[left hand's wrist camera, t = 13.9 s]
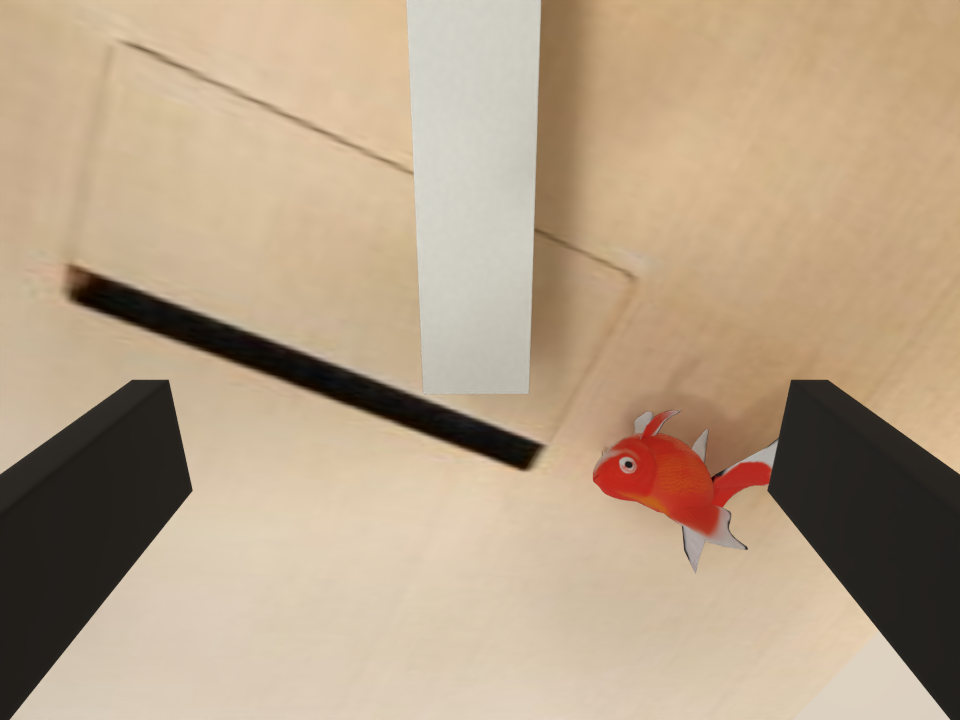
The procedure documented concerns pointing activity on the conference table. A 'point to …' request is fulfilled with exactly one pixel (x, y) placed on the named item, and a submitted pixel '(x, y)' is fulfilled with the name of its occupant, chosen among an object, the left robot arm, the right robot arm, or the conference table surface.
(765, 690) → the conference table surface
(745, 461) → the fish
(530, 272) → the bar
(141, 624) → the conference table surface
